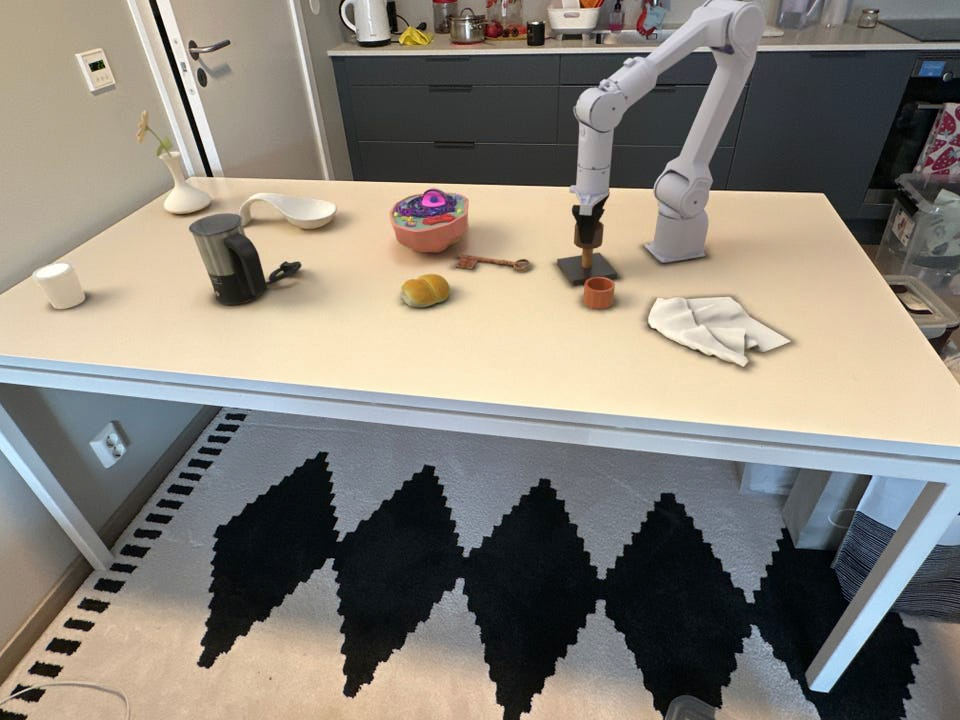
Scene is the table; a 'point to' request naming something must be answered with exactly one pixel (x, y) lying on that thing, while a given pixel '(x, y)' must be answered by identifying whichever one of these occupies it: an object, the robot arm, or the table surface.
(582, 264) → the peg stand
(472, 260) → the key
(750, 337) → the cloth
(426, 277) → the bread roll
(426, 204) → the cell model
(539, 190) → the table surface
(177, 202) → the flower in vase
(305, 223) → the spoon rest
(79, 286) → the white short cylinder
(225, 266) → the milk frother
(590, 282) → the terracotta ring
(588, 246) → the walnut ring
